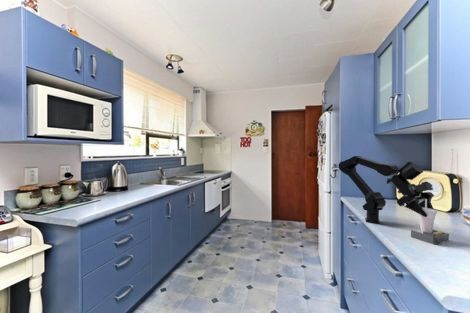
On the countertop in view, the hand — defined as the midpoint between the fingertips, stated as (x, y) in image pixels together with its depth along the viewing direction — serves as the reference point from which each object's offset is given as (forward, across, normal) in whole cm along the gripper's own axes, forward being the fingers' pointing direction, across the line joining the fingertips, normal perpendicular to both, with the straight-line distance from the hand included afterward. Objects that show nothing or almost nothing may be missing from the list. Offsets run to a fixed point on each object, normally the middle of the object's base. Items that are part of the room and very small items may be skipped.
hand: (430, 215), depth 95 cm
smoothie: (+4, 0, +6) cm, 8 cm away
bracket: (+7, 0, +8) cm, 10 cm away
